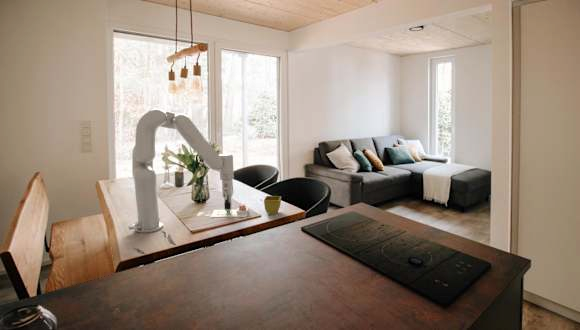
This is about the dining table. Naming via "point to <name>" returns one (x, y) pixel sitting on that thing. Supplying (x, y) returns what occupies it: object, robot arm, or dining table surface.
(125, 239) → the dining table surface
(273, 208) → the flower pot
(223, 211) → the board
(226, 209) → the marker
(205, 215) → the coaster
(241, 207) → the button
